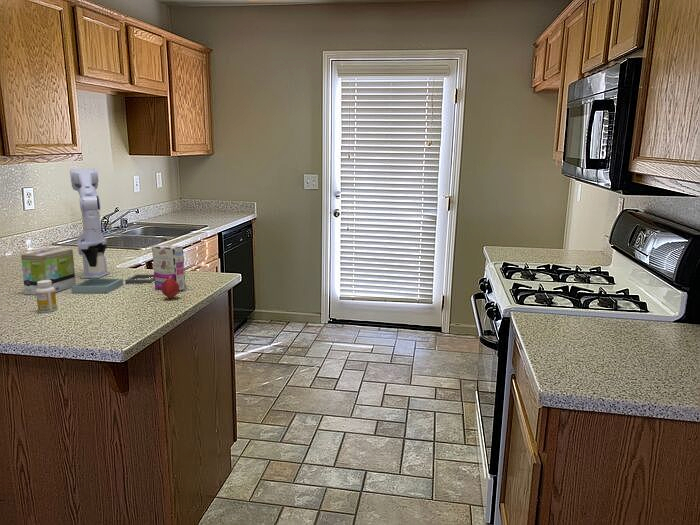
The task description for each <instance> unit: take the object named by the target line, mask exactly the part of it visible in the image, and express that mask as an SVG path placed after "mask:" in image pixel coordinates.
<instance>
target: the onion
mask: <svg viewBox="0 0 700 525" xmlns="http://www.w3.org/2000/svg"><path fill="white" fill-rule="evenodd" d="M161 292H162V294H163V295H164V296H165V297H167V298H168V299H171V300H173V299H174V298H175V297H176V296H177V295H178V294H179V293H180V292H179V285H178V283H177V282H176V281H175V280H173V279H172V276H170V277H169V278H168V279H167V280H166V281H165V282H164V283H163V285H162V290H161Z"/></svg>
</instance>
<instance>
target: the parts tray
mask: <svg viewBox="0 0 700 525" xmlns="http://www.w3.org/2000/svg"><path fill="white" fill-rule="evenodd" d="M122 286H124V280H123V278H87V279H86V280H84V281H81V282H79V283H76V285H74V286H72V287H71V288H70V289H71V294H109V293H111V292H113V291H114V290H116V289H119V288H120V287H122Z"/></svg>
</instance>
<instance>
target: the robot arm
mask: <svg viewBox="0 0 700 525" xmlns="http://www.w3.org/2000/svg"><path fill="white" fill-rule="evenodd" d="M69 177H70V183H71V188H72V190H74V191H77V193H78V194H79V208H80V212H81V218H82V224H83V225H82V226H83V231H82V232H81V233H80V234H79V235H78V236H77V241H76V242H77V243H76V244H77V252H78V255H79V256H82V266H83V275H81V276H80V277H79V278H80V279H101V278H103V277H105V276H107V275H110V272H109V271H108V267H107V264H108V263H107V258H106V256H105V252H106V250H107V247H108V245H107V244H106V243H107V239H106V237H104V236H103V234H102V225H101V215H100V212H101V199H100V197H99V195H98V194H97V191H96V190H97V189H98V187H99V173H98V169H97V168H96V167H94V168H70V170H69ZM97 252H103V258H104V268H105V271H103V272H100V273H89V269H88V263H89V266H90V267H96V264H97Z"/></svg>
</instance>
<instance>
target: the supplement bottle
mask: <svg viewBox="0 0 700 525" xmlns="http://www.w3.org/2000/svg"><path fill="white" fill-rule="evenodd" d="M51 285H52V282H51V280H42V281H38V282H37V286H38V287H39V288H37V289H36V295H35V296H36V303H37V312H39V313H42V314H43V313H44V314H45V313H52V312H55V311H56V310H57V309H58V306H57V296H56V295H57V294H56V292H55V289H54V287H51Z"/></svg>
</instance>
